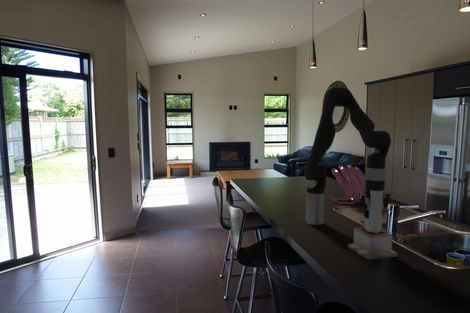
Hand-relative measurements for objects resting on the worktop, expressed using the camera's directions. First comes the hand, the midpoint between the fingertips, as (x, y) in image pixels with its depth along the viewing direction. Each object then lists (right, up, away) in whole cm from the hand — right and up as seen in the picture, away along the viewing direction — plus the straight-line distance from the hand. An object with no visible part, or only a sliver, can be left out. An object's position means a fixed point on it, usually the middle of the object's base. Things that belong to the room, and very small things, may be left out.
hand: (373, 217), depth 132 cm
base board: (0, -15, +1) cm, 15 cm away
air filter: (0, -11, +1) cm, 11 cm away
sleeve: (0, -14, +1) cm, 14 cm away
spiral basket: (+20, -7, +84) cm, 87 cm away
